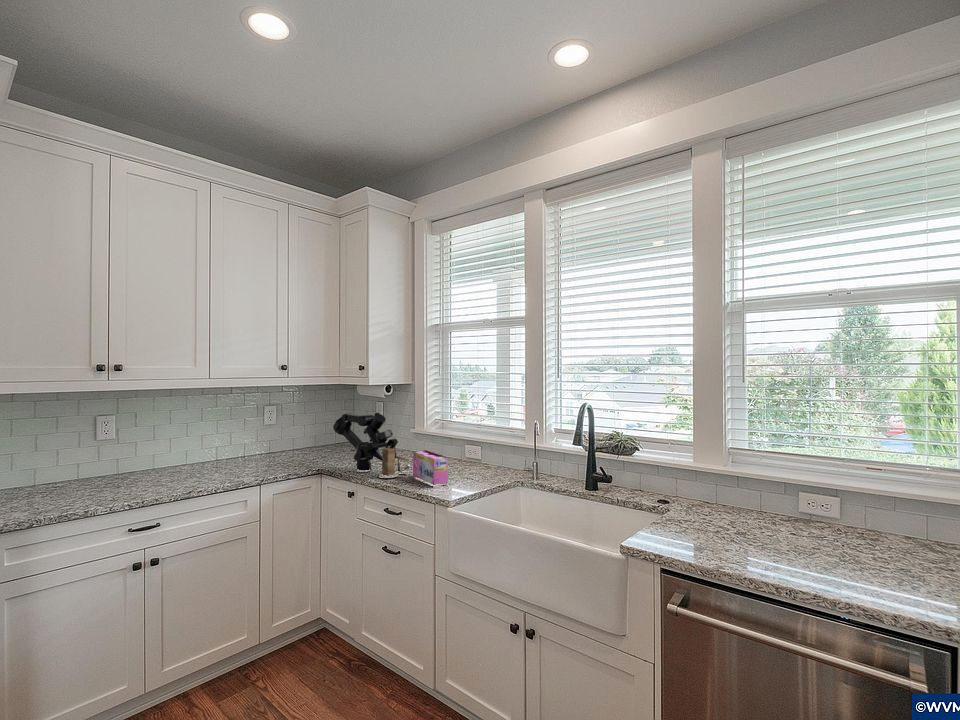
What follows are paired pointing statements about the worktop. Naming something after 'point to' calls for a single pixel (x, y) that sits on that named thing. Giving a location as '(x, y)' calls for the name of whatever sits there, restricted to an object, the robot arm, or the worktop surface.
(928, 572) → the worktop surface
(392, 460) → the walnut block
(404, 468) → the bronze balance
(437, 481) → the gum box
